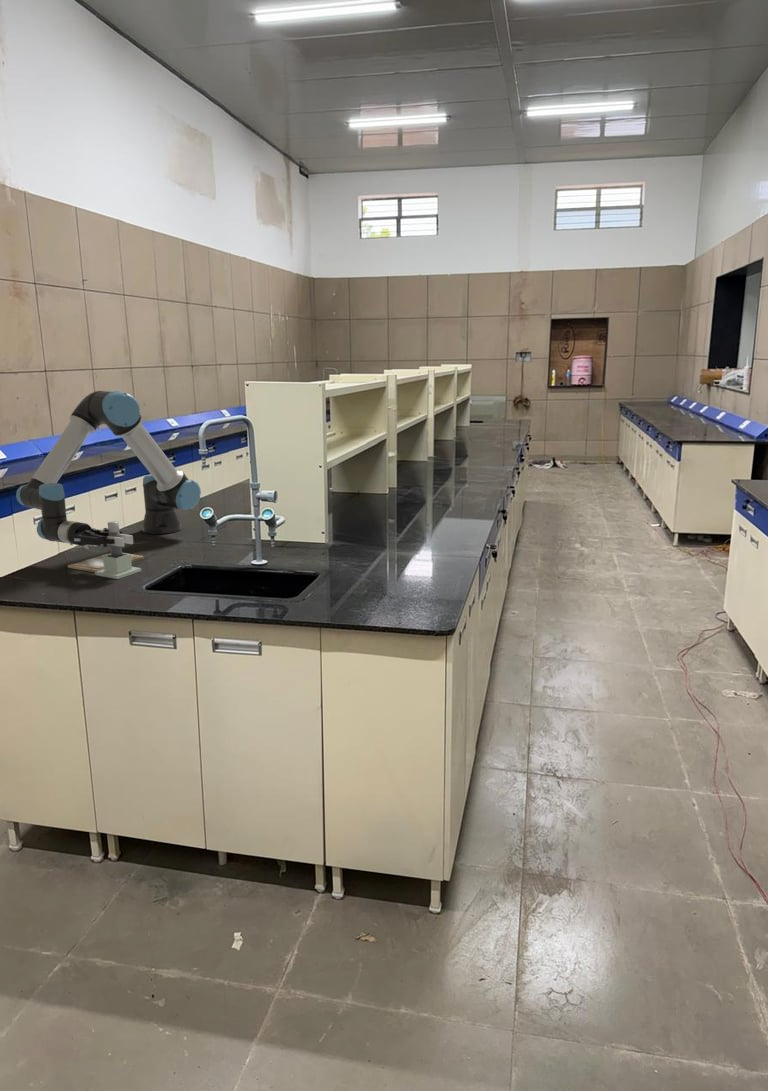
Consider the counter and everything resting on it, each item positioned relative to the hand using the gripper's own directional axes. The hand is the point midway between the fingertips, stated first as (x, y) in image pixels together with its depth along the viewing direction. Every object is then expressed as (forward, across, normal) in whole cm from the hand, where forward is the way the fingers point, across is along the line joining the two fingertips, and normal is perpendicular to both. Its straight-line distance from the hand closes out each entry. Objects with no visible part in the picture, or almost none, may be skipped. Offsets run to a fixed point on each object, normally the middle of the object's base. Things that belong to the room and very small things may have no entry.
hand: (127, 541), depth 233 cm
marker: (-5, 0, -10) cm, 11 cm away
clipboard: (-18, -7, -11) cm, 23 cm away
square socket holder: (-5, 0, -11) cm, 13 cm away
